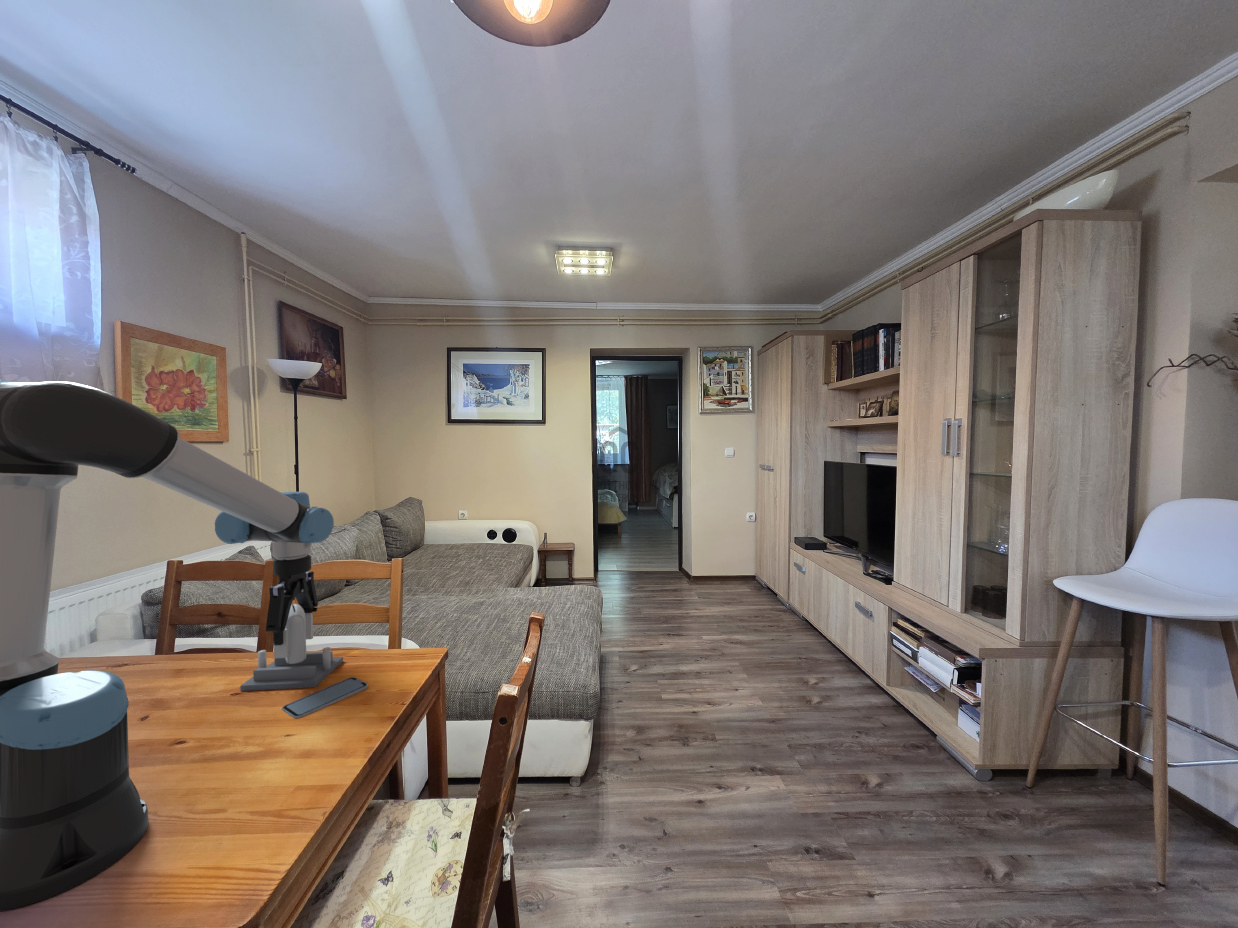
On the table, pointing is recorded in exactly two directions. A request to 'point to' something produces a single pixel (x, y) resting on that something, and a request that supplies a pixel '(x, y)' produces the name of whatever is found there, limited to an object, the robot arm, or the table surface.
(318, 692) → the smartphone
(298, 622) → the photo printer
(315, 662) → the cradle
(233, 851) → the table surface
